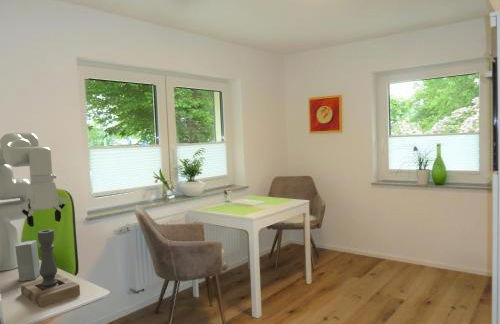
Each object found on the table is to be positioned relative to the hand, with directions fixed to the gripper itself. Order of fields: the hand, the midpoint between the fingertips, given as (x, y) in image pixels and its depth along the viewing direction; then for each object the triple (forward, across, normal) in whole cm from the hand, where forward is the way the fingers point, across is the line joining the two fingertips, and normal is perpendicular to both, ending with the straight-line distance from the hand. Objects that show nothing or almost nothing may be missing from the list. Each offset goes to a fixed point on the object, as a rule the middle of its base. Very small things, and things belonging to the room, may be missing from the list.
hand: (44, 223), depth 148 cm
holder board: (+28, 0, +1) cm, 28 cm away
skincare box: (+29, -2, -27) cm, 40 cm away
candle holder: (+28, 0, 0) cm, 28 cm away
